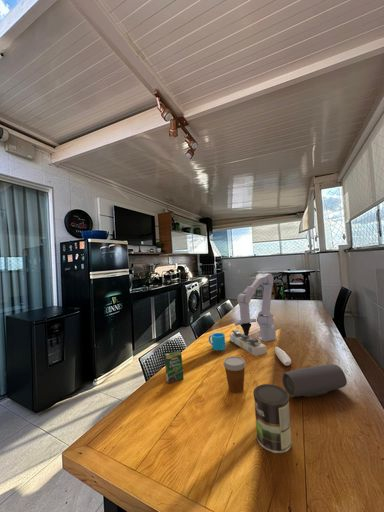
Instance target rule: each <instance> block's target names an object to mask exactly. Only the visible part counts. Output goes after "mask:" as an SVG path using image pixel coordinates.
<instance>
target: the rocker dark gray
mask: <svg viewBox="0 0 384 512" xmlns="http://www.w3.org/2000/svg"><path fill="white" fill-rule="evenodd" d="M240 337H242V338H243V339H249V337H250V335H248V336H245V334H244V332H242V334H240Z"/></svg>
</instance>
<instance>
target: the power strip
mask: <svg viewBox="0 0 384 512" xmlns="http://www.w3.org/2000/svg"><path fill="white" fill-rule="evenodd" d="M241 334H243V332H241ZM249 339H253V338H252V337H250V336H249ZM249 339H243V338H242V337H240V335H238V336H237V335H235V334H234V333H233V332H232V333H229V341H230V340H231V341H230V342H232V343H233V342H234V343H233V344H234V345H237V346H239V347H240V348H242V349H244V350H245V351H246V352H248V353H250V355H253V356H255V357H257V356H262V355H265V354H267V353H268V352H267V345H266V344H263V343H262V342H261V341H259V342H257V343H250V342H248V340H249Z"/></svg>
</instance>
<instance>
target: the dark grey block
mask: <svg viewBox="0 0 384 512" xmlns="http://www.w3.org/2000/svg"><path fill="white" fill-rule="evenodd" d="M232 333H234V334H235V335H237V336H238V335H240V334H241V333H242V332H241V331H240V330H238V329H237V328H235V329H232Z"/></svg>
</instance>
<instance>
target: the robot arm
mask: <svg viewBox="0 0 384 512" xmlns="http://www.w3.org/2000/svg"><path fill="white" fill-rule="evenodd" d="M274 278H275V277H274V276H273V274H272V273H257V274H256V275H255V279H254V281H253V282H252V284H251V285H247V286H246V288H245V289H244V291H243V292H241V293H239V294H237V295H238V296H237V298H236V301H237V304H238V306H239V313H240V314H239V315H240V318H239V319H240V320H237V321H234V326H235V327H236V326H240V327H241V329H242V331H243V333H244V334H245V336H249V333H250V329H251V327H252V323H257V324H258V326H259V330H260V331H259V332H260V336H258V337H257V338H258V340H261V341H263V342H265V343H267V342H271V341H275V340H277V334H276V327H275V326H274V322H275V321H274V315H273V314H272V313H271V302H272V292H273V286H274ZM259 286H262V288H263V293H262V304H261V310H260V311H259V312H258V313H257V317H256V318H255V317H253V318H251V315H250V303H251V299H252V297H253V296H254V294H255V293H256V289H257V288H258V287H259Z"/></svg>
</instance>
